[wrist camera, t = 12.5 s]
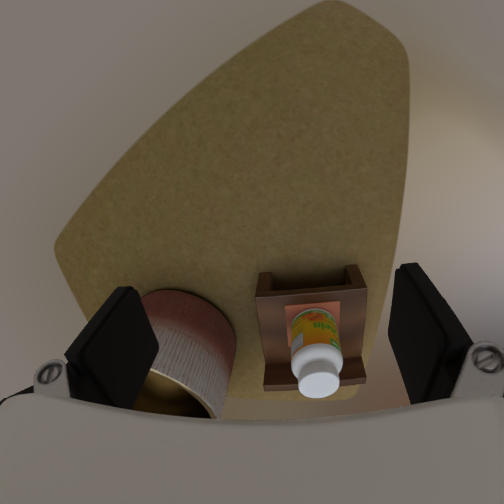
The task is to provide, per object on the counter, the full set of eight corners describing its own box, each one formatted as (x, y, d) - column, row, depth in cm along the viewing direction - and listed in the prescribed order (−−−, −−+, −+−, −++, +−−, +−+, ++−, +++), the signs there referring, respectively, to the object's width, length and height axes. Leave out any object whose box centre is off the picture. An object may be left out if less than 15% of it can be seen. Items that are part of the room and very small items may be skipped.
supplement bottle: (344, 317, 34) (358, 376, 25) (319, 347, 36) (325, 407, 27) (305, 299, 33) (310, 360, 24) (282, 332, 35) (280, 393, 27)
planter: (241, 295, 41) (220, 381, 27) (234, 379, 49) (219, 456, 34) (125, 277, 42) (69, 343, 28) (139, 360, 50) (105, 426, 35)
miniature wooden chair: (258, 272, 39) (251, 318, 30) (357, 264, 38) (376, 307, 28) (268, 341, 44) (264, 391, 35) (353, 334, 42) (365, 383, 33)
